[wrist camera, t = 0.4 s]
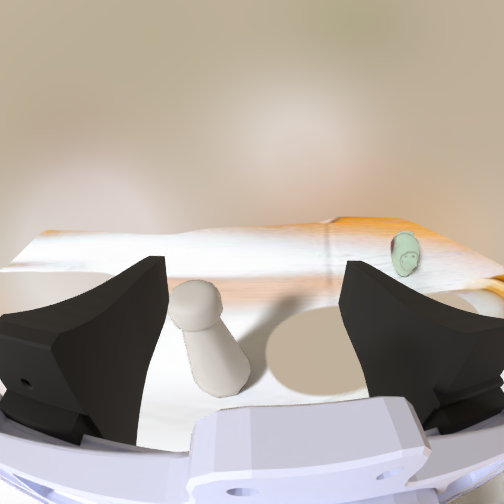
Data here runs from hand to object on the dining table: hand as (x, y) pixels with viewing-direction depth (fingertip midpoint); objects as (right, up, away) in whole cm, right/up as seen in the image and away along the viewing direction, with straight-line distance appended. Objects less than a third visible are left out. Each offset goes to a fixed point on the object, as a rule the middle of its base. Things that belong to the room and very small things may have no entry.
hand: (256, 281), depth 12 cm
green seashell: (+21, -2, +27) cm, 34 cm away
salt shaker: (-3, -13, +18) cm, 22 cm away
